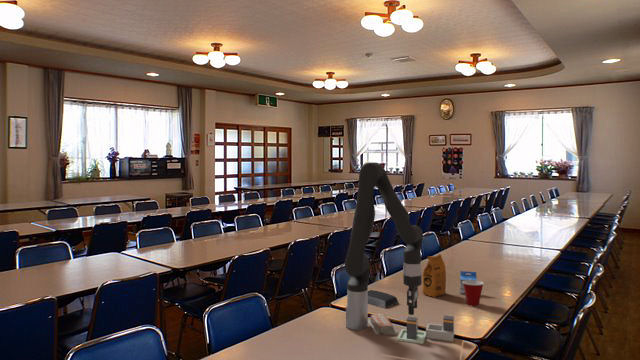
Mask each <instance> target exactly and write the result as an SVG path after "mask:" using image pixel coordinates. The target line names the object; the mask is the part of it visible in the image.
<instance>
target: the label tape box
mask: <svg viewBox="0 0 640 360" xmlns="http://www.w3.org/2000/svg"><path fill="white" fill-rule="evenodd" d="M459 272H460V275H459V294H460V293H461V294H460V295H465V289H464V285H463V283H462V281H466V280H472V281H478V278H477V272H476V271H464V270H460V271H459Z"/></svg>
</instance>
